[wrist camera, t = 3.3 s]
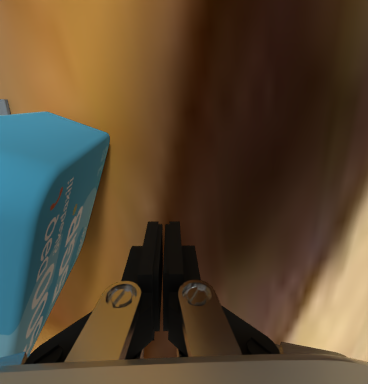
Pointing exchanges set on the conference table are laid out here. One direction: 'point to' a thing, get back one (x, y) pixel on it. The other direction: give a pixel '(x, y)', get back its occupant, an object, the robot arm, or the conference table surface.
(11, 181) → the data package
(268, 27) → the conference table surface
